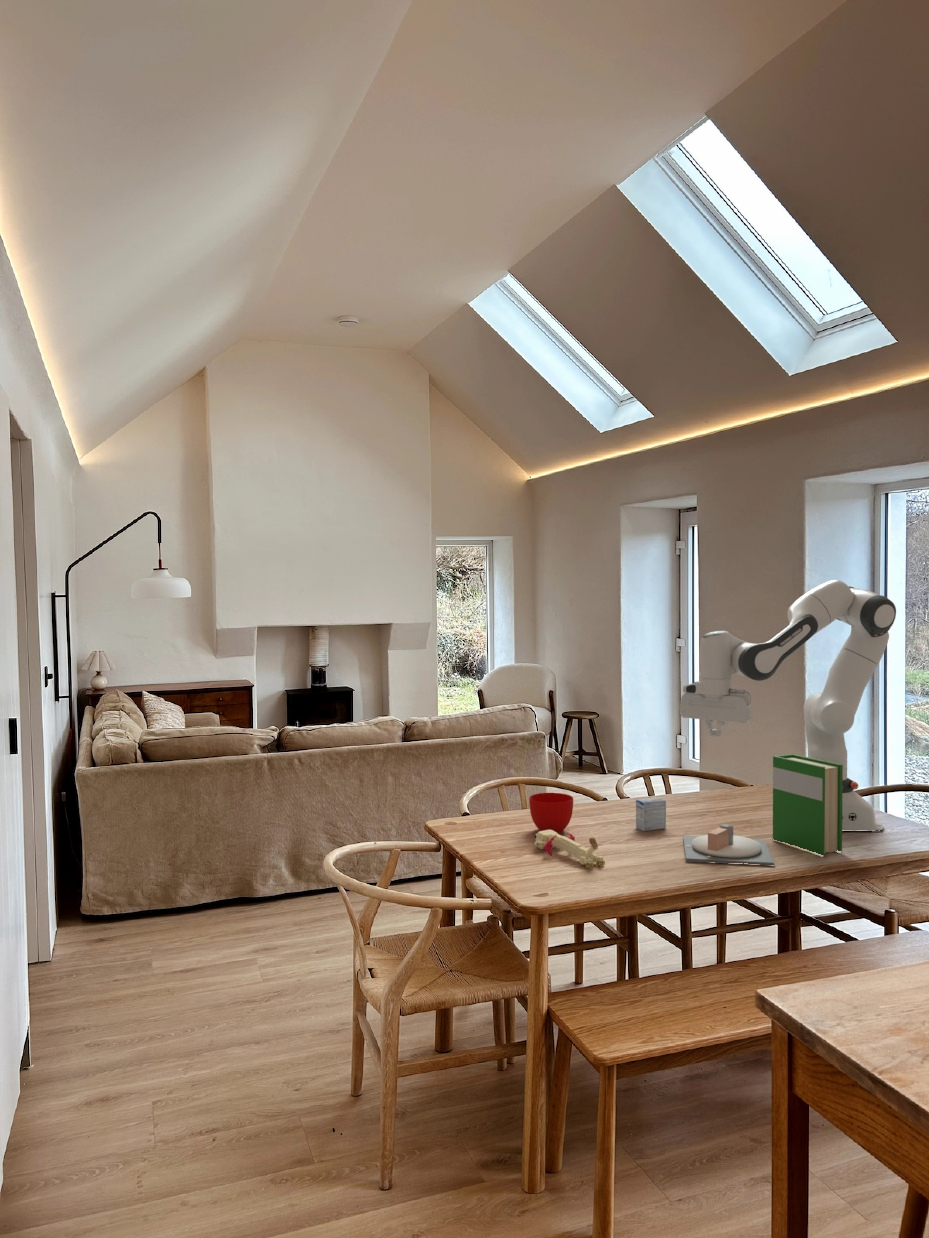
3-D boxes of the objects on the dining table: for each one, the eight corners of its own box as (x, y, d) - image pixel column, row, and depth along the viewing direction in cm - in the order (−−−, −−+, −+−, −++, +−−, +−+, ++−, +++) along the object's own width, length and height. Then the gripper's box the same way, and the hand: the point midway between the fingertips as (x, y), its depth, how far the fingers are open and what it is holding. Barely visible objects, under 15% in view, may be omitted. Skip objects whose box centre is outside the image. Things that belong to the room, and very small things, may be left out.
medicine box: (657, 825, 276) (657, 796, 275) (666, 828, 272) (666, 799, 271) (635, 828, 273) (635, 799, 272) (643, 831, 269) (643, 802, 268)
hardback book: (841, 853, 246) (842, 764, 245) (821, 857, 243) (822, 767, 242) (792, 837, 262) (792, 753, 261) (772, 840, 258) (773, 756, 258)
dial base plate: (763, 842, 256) (763, 838, 256) (774, 866, 235) (774, 861, 235) (683, 838, 261) (683, 834, 261) (686, 862, 239) (686, 857, 239)
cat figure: (610, 869, 238) (552, 839, 259) (612, 837, 237) (553, 809, 258) (580, 876, 233) (523, 845, 254) (582, 843, 232) (525, 814, 253)
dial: (710, 834, 260) (710, 813, 260) (772, 846, 248) (772, 824, 248) (680, 848, 247) (680, 826, 247) (743, 861, 235) (743, 838, 235)
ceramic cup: (572, 822, 280) (572, 789, 280) (573, 837, 263) (573, 803, 263) (530, 821, 281) (530, 789, 281) (528, 836, 264) (528, 802, 264)
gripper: (755, 689, 257) (754, 738, 258) (687, 684, 270) (686, 731, 270) (746, 691, 252) (746, 741, 253) (677, 686, 265) (677, 733, 265)
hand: (714, 735), depth 262 cm, fingers closed
